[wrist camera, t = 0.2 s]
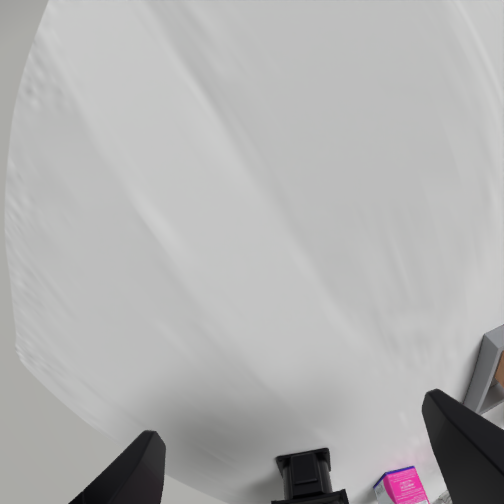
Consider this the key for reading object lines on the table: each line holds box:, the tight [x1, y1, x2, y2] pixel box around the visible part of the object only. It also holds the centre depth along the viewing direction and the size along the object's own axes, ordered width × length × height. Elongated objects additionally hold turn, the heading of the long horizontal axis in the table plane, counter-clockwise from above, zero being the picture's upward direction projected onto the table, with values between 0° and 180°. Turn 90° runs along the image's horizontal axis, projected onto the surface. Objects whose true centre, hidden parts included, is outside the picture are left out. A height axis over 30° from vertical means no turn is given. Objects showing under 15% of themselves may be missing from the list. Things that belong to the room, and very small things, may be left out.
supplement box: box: [373, 466, 430, 504], centre depth 28 cm, size 6×6×12 cm
